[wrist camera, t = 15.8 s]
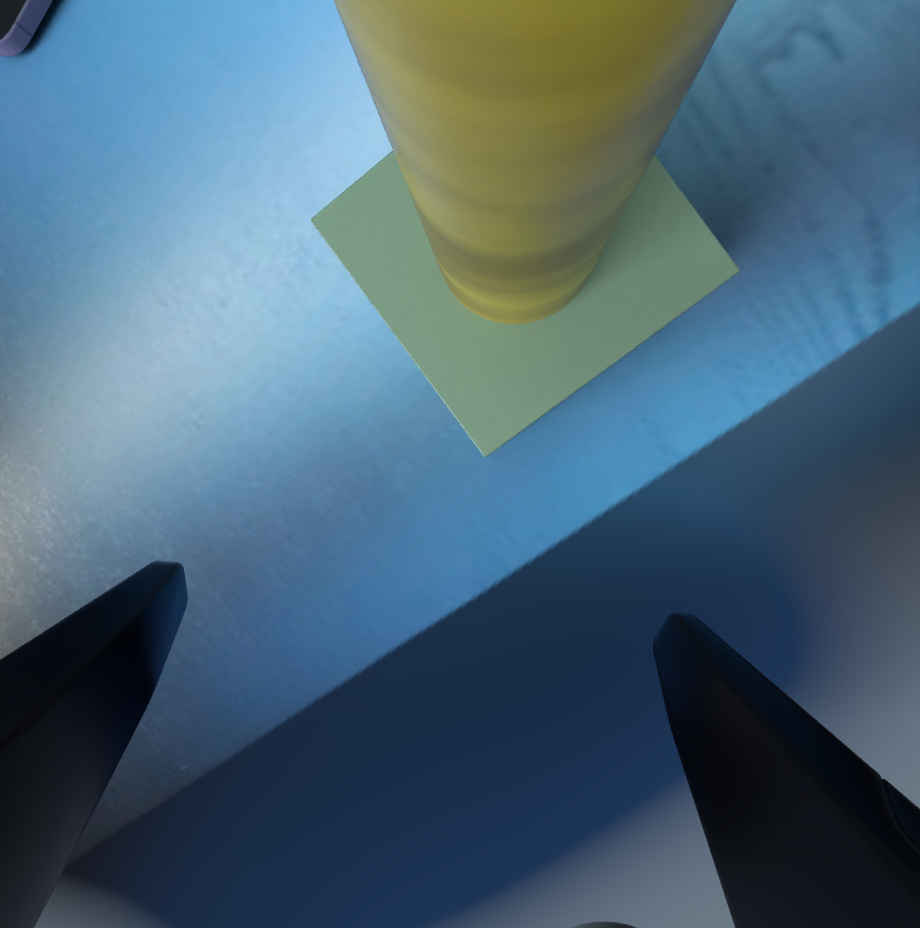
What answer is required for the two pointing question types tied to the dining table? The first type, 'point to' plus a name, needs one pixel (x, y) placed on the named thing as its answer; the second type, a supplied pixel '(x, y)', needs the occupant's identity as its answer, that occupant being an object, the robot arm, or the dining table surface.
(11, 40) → the smartphone
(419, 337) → the green block
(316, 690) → the dining table surface
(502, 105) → the yellow tumbler
